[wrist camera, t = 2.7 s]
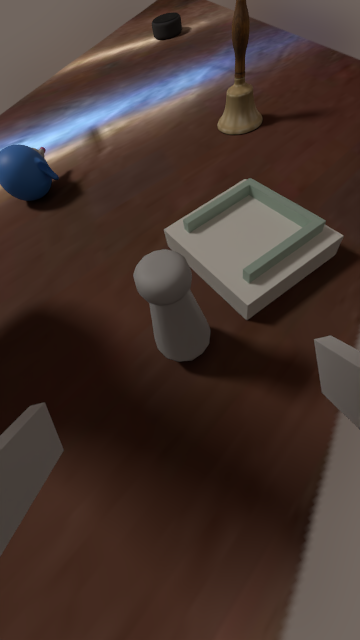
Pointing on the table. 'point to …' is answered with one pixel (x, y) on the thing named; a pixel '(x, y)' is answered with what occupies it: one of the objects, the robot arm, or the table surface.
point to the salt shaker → (172, 305)
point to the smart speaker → (166, 26)
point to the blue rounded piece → (25, 172)
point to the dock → (252, 244)
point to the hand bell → (240, 82)
